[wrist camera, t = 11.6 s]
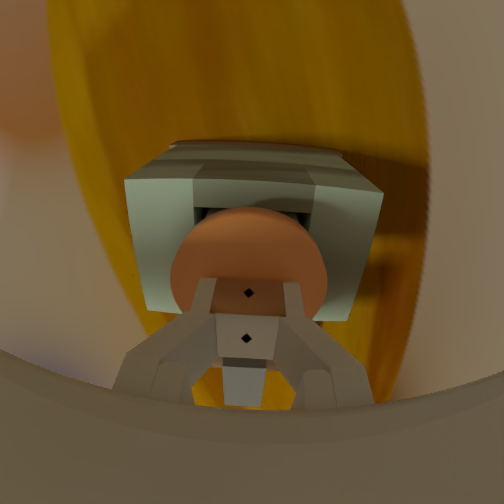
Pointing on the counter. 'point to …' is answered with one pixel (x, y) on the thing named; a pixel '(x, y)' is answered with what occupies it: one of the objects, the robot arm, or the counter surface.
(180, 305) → the button
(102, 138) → the counter surface
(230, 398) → the carriage
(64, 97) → the counter surface
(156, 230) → the rail bed
